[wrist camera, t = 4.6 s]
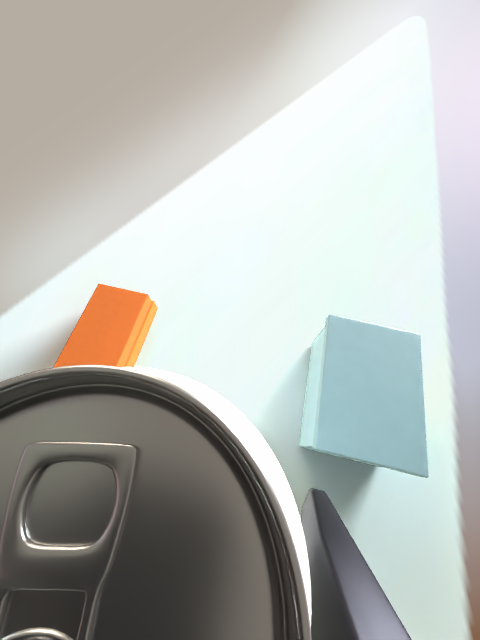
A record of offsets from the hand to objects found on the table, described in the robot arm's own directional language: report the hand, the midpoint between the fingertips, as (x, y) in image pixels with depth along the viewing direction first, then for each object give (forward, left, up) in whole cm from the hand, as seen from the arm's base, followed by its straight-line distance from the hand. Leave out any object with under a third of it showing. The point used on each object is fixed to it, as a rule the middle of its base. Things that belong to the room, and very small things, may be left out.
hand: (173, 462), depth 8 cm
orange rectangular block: (+5, +6, -7) cm, 10 cm away
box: (+4, -8, -7) cm, 11 cm away
